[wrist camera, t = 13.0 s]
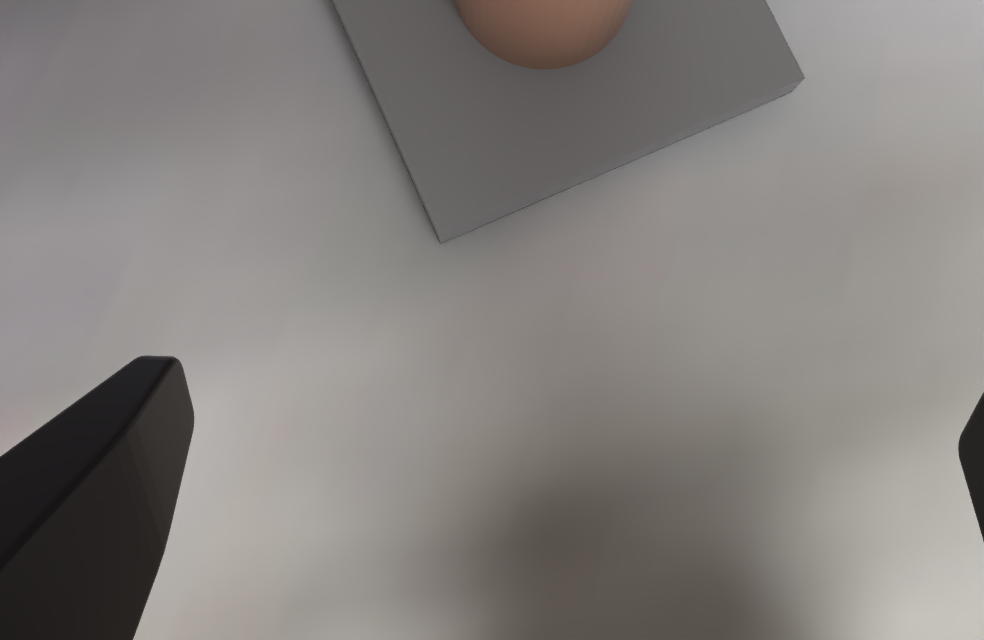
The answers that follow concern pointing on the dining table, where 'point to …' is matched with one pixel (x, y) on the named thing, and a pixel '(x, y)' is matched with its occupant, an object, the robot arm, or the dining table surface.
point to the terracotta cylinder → (544, 28)
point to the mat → (555, 97)
